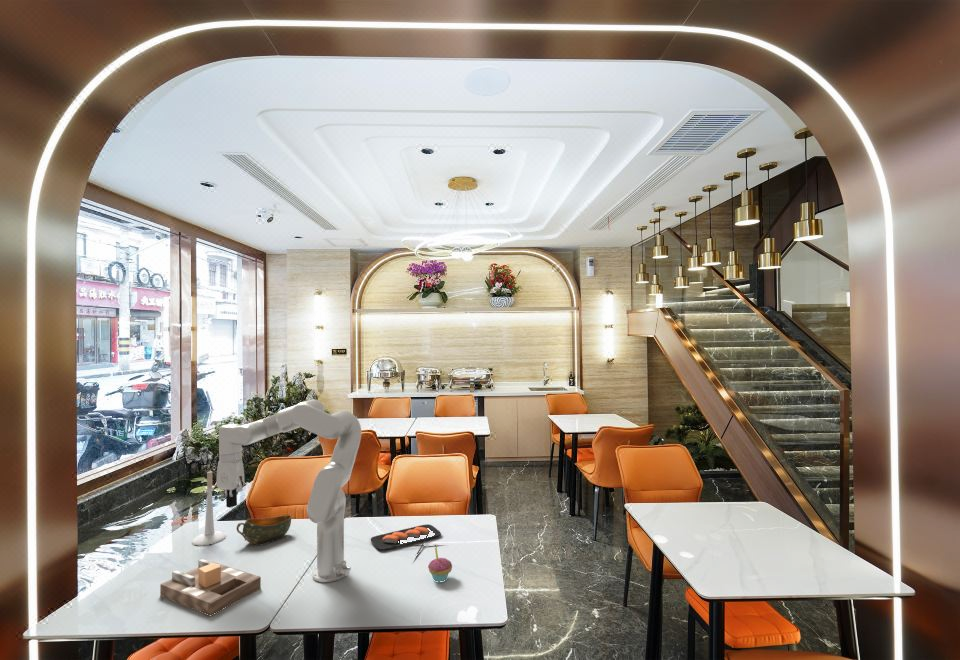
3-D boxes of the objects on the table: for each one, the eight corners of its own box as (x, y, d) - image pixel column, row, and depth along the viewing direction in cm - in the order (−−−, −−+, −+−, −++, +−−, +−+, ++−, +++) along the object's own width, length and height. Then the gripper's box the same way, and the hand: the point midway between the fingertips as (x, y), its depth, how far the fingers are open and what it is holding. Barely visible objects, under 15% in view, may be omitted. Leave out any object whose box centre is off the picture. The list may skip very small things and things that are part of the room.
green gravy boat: (245, 535, 204) (245, 512, 204) (292, 532, 208) (292, 510, 208) (234, 548, 191) (235, 524, 192) (285, 545, 195) (285, 521, 195)
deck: (260, 588, 160) (260, 569, 160) (210, 616, 144) (210, 595, 144) (211, 572, 172) (211, 554, 172) (160, 596, 156) (160, 576, 156)
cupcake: (424, 583, 162) (424, 549, 162) (434, 572, 170) (434, 539, 170) (446, 587, 159) (446, 552, 159) (456, 575, 167) (455, 542, 167)
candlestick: (206, 532, 208) (207, 466, 209) (232, 534, 206) (232, 467, 207) (184, 545, 195) (185, 474, 196) (212, 546, 194) (212, 475, 194)
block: (220, 581, 157) (220, 566, 157) (205, 587, 153) (205, 572, 153) (213, 577, 160) (213, 562, 160) (198, 583, 156) (198, 568, 156)
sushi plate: (429, 527, 213) (429, 519, 213) (460, 552, 187) (460, 542, 187) (368, 542, 198) (368, 533, 198) (392, 571, 172) (392, 561, 172)
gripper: (208, 458, 173) (209, 507, 172) (235, 461, 167) (236, 512, 166) (226, 453, 180) (227, 500, 179) (253, 456, 173) (254, 505, 173)
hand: (231, 506), depth 173 cm, fingers closed
